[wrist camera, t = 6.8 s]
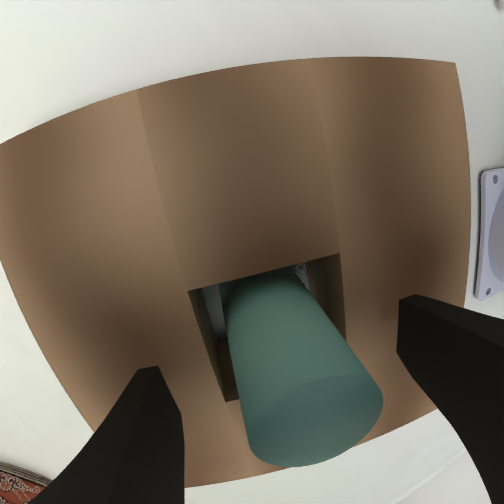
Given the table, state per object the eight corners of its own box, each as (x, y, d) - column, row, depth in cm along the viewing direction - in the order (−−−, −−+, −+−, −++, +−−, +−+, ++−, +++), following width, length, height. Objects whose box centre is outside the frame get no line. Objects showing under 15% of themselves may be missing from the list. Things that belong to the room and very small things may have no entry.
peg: (286, 240, 13) (386, 353, 6) (297, 306, 15) (379, 439, 7) (210, 260, 13) (231, 403, 6) (229, 325, 14) (262, 479, 7)
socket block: (396, 76, 12) (455, 62, 8) (407, 365, 17) (442, 405, 14) (28, 152, 10) (-28, 159, 7) (147, 436, 16) (144, 491, 12)
